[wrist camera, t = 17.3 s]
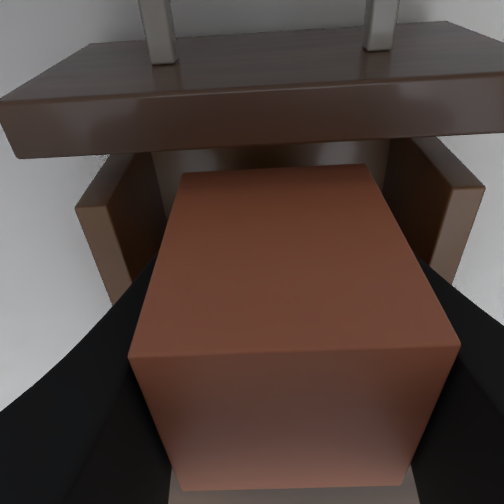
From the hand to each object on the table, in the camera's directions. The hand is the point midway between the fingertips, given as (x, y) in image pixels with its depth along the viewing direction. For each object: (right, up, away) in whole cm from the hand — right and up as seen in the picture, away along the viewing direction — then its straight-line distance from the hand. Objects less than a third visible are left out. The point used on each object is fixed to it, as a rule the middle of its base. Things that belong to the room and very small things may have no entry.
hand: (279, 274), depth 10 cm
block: (0, +1, +1) cm, 1 cm away
